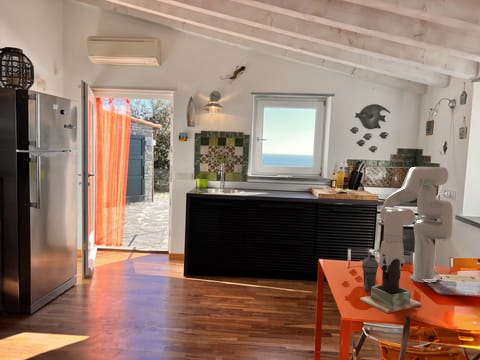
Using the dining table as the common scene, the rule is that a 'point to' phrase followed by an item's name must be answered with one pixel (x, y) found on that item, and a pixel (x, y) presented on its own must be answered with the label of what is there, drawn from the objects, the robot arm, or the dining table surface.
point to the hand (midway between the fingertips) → (391, 279)
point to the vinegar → (392, 278)
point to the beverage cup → (369, 272)
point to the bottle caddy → (390, 299)
